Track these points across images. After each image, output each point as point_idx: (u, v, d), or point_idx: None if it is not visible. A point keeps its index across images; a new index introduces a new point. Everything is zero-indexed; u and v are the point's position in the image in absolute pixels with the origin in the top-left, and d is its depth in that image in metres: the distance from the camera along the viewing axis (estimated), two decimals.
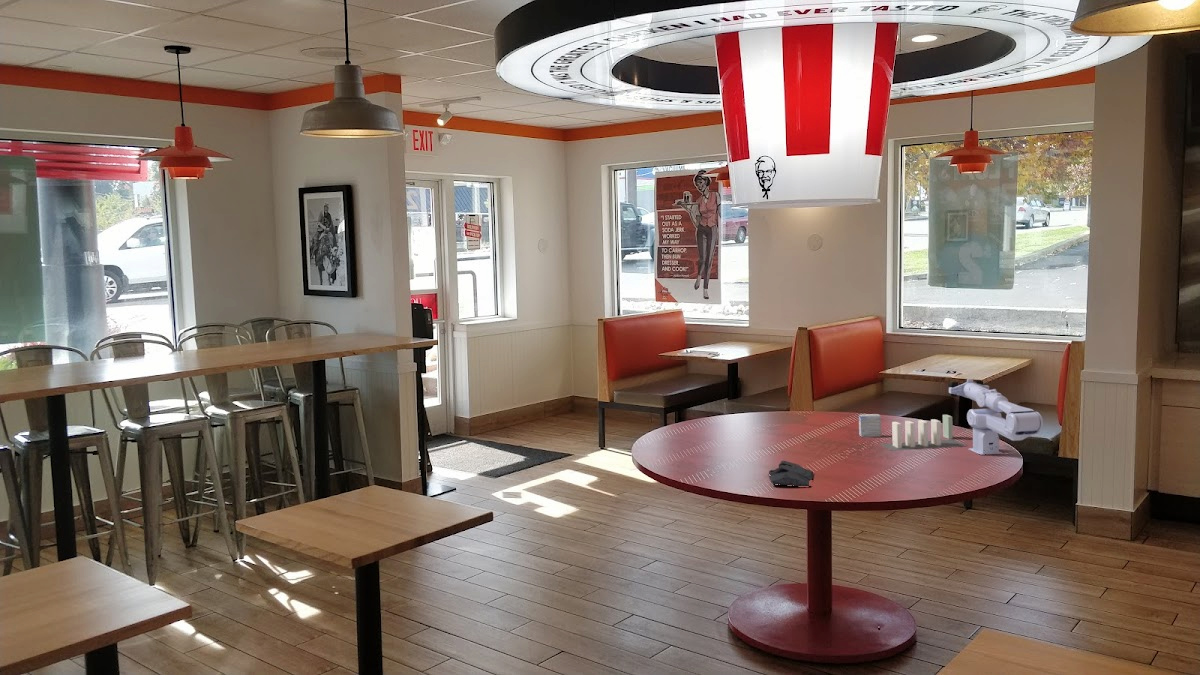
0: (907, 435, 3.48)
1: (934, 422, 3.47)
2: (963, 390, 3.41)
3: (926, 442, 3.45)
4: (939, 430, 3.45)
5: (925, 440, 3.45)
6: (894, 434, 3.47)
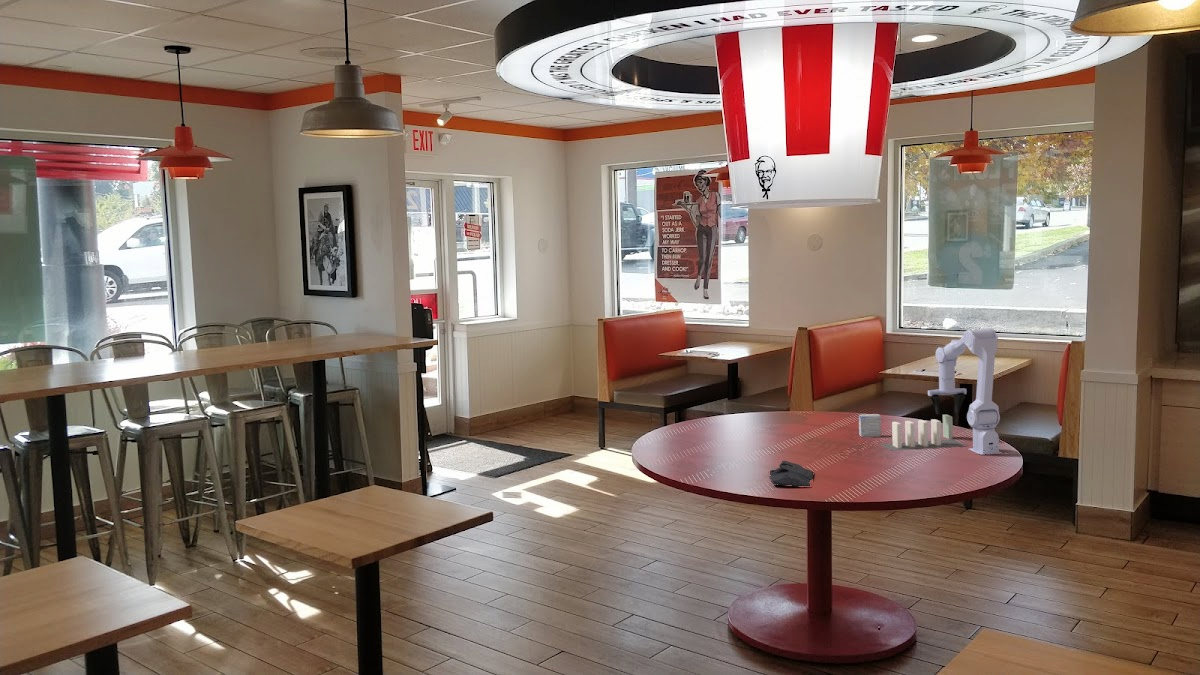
0: (907, 435, 3.48)
1: (934, 422, 3.47)
2: (939, 388, 3.57)
3: (926, 442, 3.45)
4: (939, 430, 3.45)
5: (925, 440, 3.45)
6: (894, 434, 3.47)
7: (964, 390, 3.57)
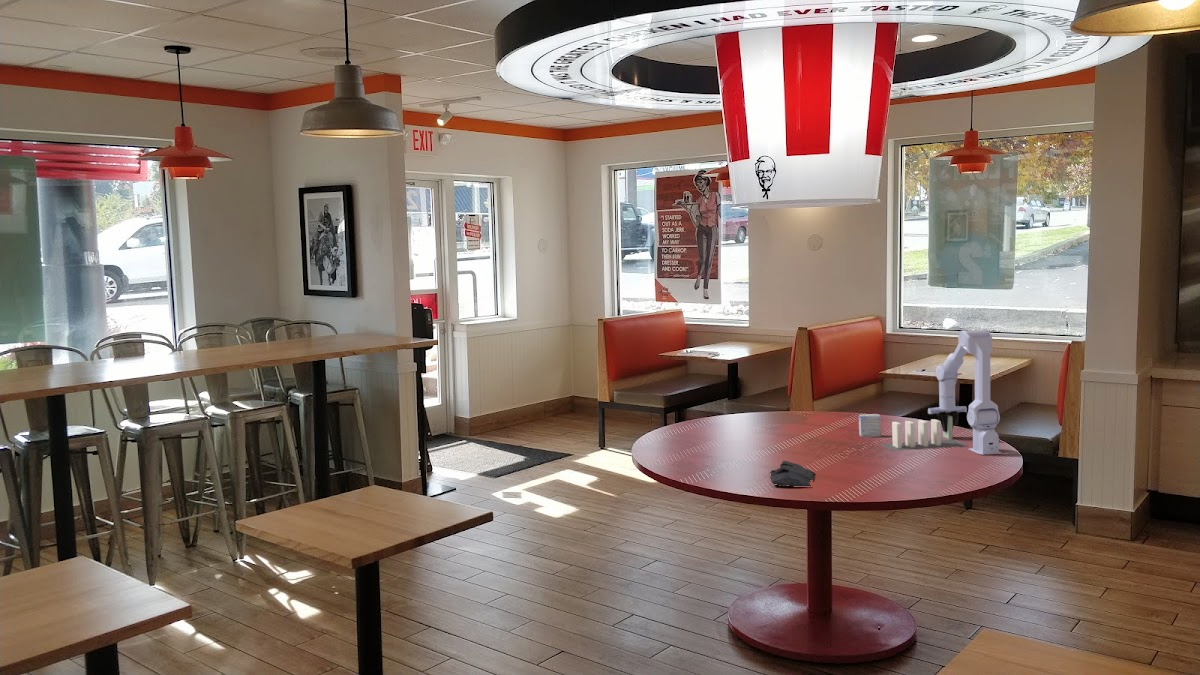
0: (907, 435, 3.48)
1: (934, 422, 3.47)
2: (940, 406, 3.58)
3: (926, 442, 3.45)
4: (939, 430, 3.45)
5: (925, 440, 3.45)
6: (894, 434, 3.47)
7: (964, 408, 3.57)
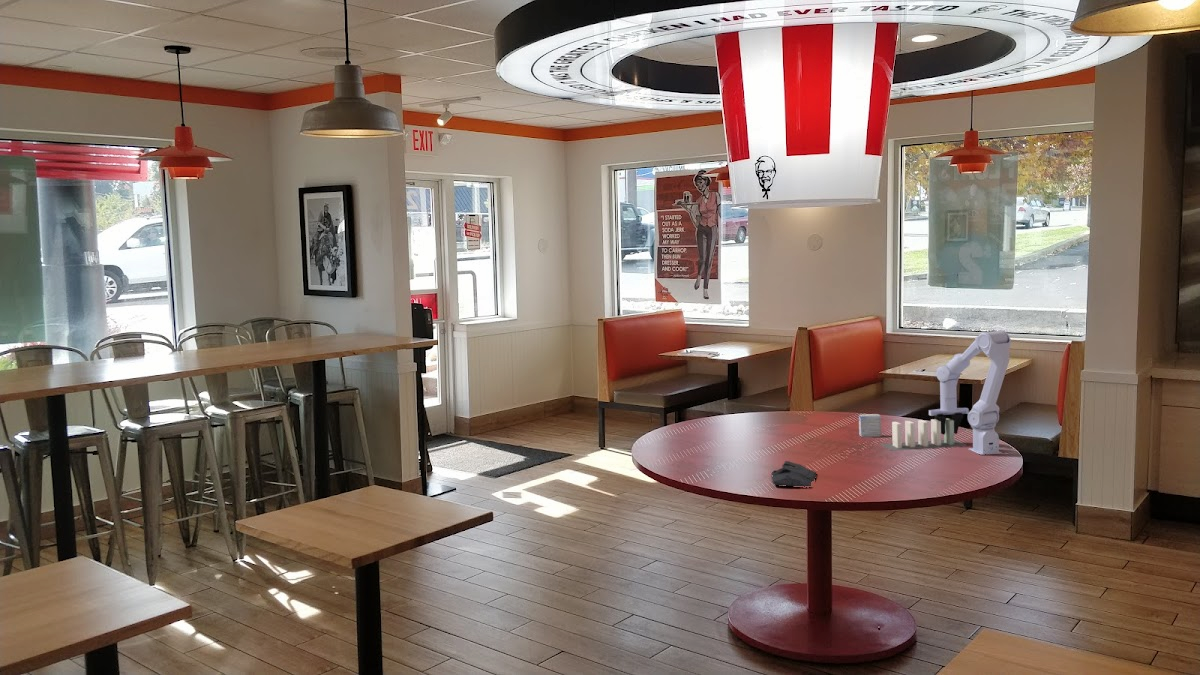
0: (907, 435, 3.48)
1: (934, 422, 3.47)
2: (941, 407, 3.47)
3: (926, 442, 3.45)
4: (939, 430, 3.45)
5: (925, 440, 3.45)
6: (894, 434, 3.47)
7: (966, 410, 3.47)
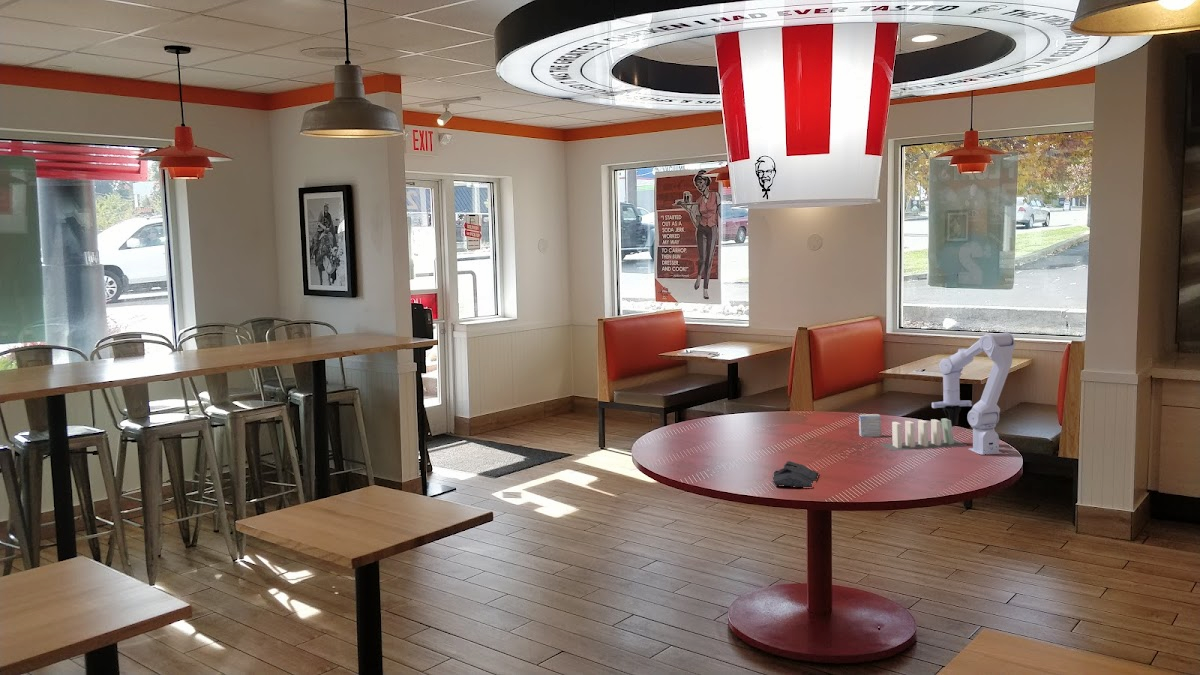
0: (907, 435, 3.48)
1: (934, 422, 3.47)
2: (943, 400, 3.47)
3: (926, 442, 3.45)
4: (939, 430, 3.45)
5: (925, 440, 3.45)
6: (894, 434, 3.47)
7: (969, 402, 3.47)
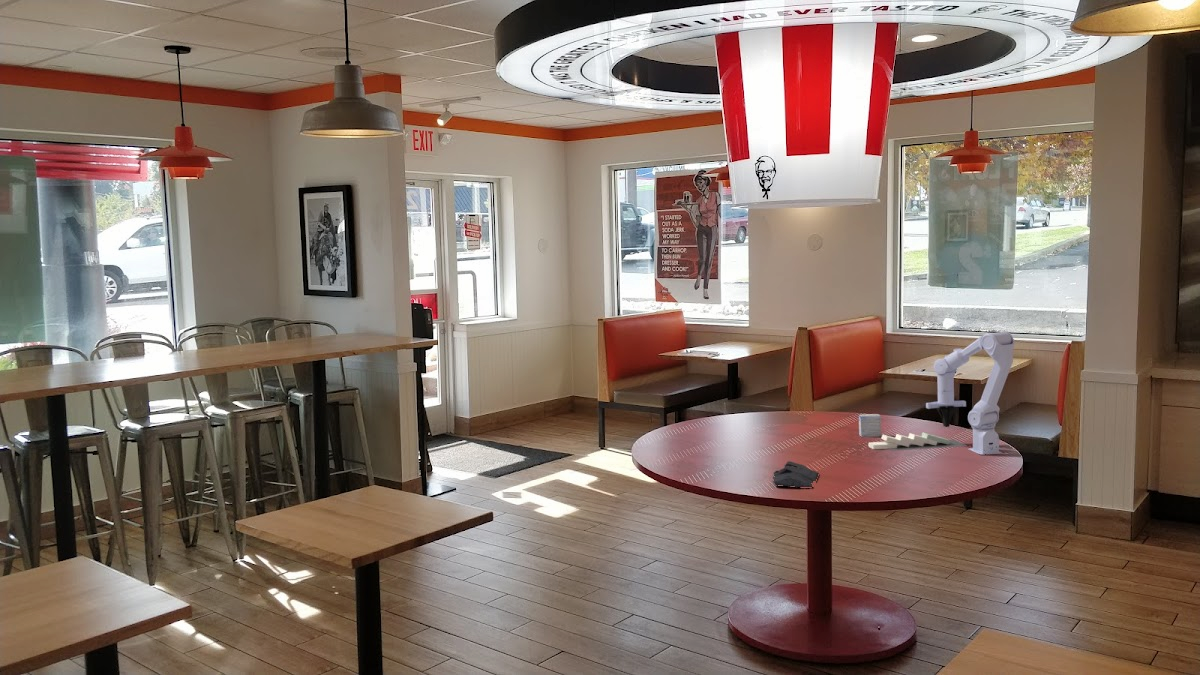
0: None
1: (913, 438, 3.47)
2: (938, 400, 3.47)
3: (920, 442, 3.45)
4: (922, 439, 3.45)
5: (917, 443, 3.45)
6: None
7: (963, 402, 3.47)
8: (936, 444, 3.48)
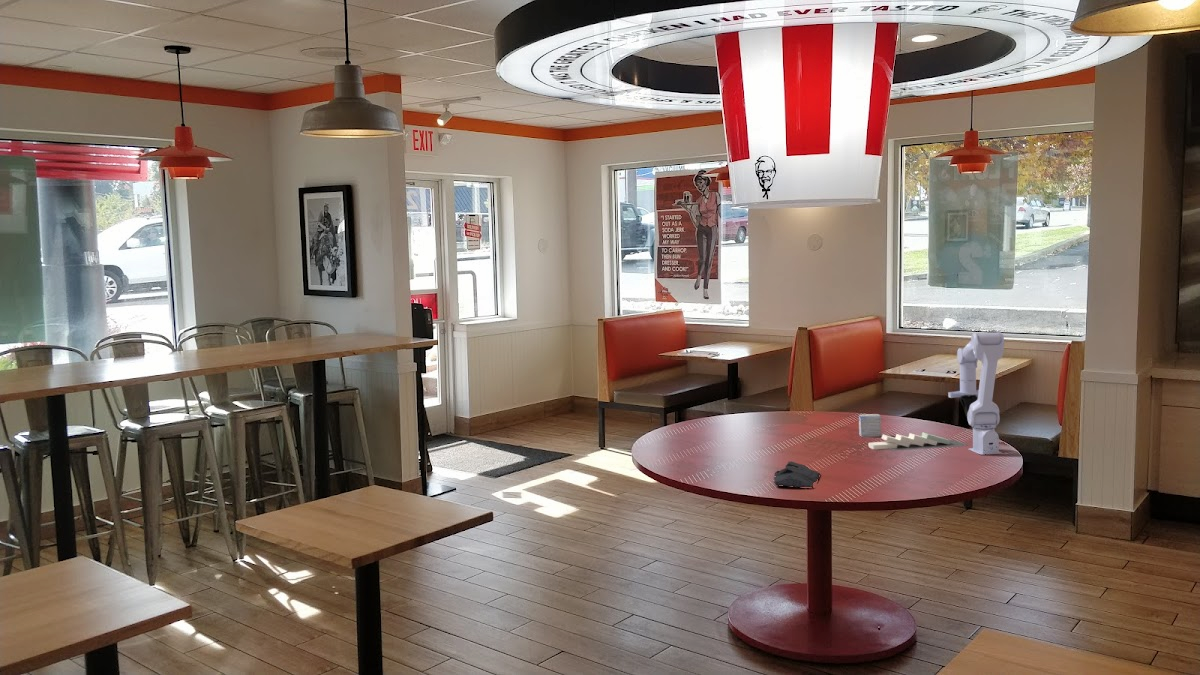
0: None
1: (913, 438, 3.47)
2: (960, 390, 3.51)
3: (920, 442, 3.45)
4: (922, 439, 3.45)
5: (917, 443, 3.45)
6: None
7: None
8: (936, 444, 3.48)
